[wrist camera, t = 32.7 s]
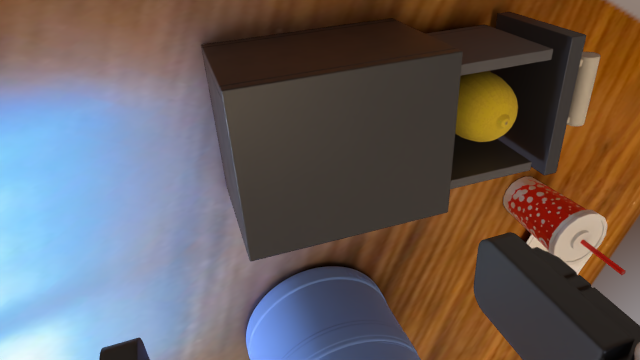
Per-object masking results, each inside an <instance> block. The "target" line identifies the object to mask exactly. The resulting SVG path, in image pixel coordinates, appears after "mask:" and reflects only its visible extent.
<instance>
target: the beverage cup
mask: <svg viewBox="0 0 640 360" xmlns="http://www.w3.org/2000/svg"><path fill="white" fill-rule="evenodd" d="M503 205H504V206H505V208H506V210H507V211H508V212H509V213H510V214H511V215H513V216H514V217H515V218H516V219H517V220H518V221H519V222H520V223H521V224H522V225H523V226H524V227H525V228H526V229H527V230H528V231H529V232H530V233H531V234H532V235H533V236H534V237H535V238H536V239H537V240H538V241H539V242H540V243H541V244H542V245H543V246H544V247H545V248H546V249H547V250H548V251H549V253H551V254H553V255H555V256H557V257H559V258H560V259H562V260H563V261H564V262H565V263H566V264H567V265H574V264H576V263H579V262H581V261H583V260H584V259H586V258H587V257H589V256H590V255H591V254H593V253H594V254H595V255H596V256H598V257H599V258H600V259H602V260H603V261H604V262H605V263H607V264H608V265H609V266H611V267H612V268H613V269H614V270H616V271H617V272H618V273H620V274H621V275H623V274H625V270H623V269H622V268H621V267H619V266H618V265H617V264H615V263H614V262H613V261H611V260H610V259H609V258H608V257H606V256H605V255H604V254H602V253H601V252H600V251H598V250H597V248H598V247H599V246H600V244H601V243H602V241H603V239H604V237H605V235H606V230H607V223H606V220H605V218H604V217H603V216H601V215H600V214H598V213H596V212H595V211H593V210H586V209H585V208H583V207H581V206H580V205H578V204H576V203H575V202H573V201H571V200H570V199H568V198H566V197H565V196H563V195H561V194H560V193H558V192H556V191H555V190H553V189H551V188H550V187H548V186H546V185H545V184H543V183H541V182H539V181H538V180H536V179H534V178H533V177H523V178H520V179H518V180H516V181H515V182H514V183H512V184H511V185H510V187H509V188H508V189H507V190H506V193H505V195H504V198H503Z"/></svg>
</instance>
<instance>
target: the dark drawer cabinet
mask: <svg viewBox="0 0 640 360" xmlns="http://www.w3.org/2000/svg"><path fill="white" fill-rule="evenodd" d="M201 48H202V54H203V59H204V65H205V70H206V76H207V81H208V86H209V92H210V97H211V103H212V108H213V114H214V119H215V125H216V130H217V136H218V141H219V147H220V152H221V157H222V163H223V168H224V174H225V179H226V185H227V189H228V193H229V196H230V199H231V202H232V205H233V208H234V212H235V215H236V218H237V221H238V224H239V228H240V231H241V234H242V237H243V240H244V244H245V247H246V250H247V253H248V256H249V259H250V261H255V260H259V259H263V258H267V257H271V256H275V255H279V254H283V253H287V252H291V251H295V250H299V249H303V248H307V247H311V246H315V245H319V244H323V243H327V242H331V241H335V240H339V239H343V238H347V237H351V236H355V235H359V234H363V233H367V232H371V231H375V230H379V229H383V228H387V227H391V226H395V225H399V224H403V223H407V222H411V221H415V220H419V219H423V218H427V217H431V216H435V215H439V214H443V213H447V212H448V206H449V195H450V184H451V173H452V163H453V152H454V141H455V130H456V120H457V109H458V98H459V87H460V77H461V66H462V55H463V52H462V51H461V50H458V49H456V48H454V47H452V46H450V45H448V44H446V43H444V42H442V41H439V40H437V39H435V38H433V37H431V36H429V35H427V34H424V33H422V32H420V31H418V30H416V29H414V28H412V27H409V26H407V25H405V24H403V23H401V22H399V21H396V20H395V19H392V18H391V19H383V20H376V21H369V22H362V23H355V24H348V25H341V26H333V27H326V28H319V29H312V30H305V31H298V32H290V33H283V34H276V35H269V36H262V37H255V38H247V39H240V40H233V41H226V42H219V43H212V44H205V45H201Z"/></svg>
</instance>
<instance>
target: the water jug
mask: <svg viewBox="0 0 640 360" xmlns="http://www.w3.org/2000/svg"><path fill="white" fill-rule="evenodd" d="M246 344H247V349H248V353H249V357H250V360H421V359H420V358H419V356H418V354H417V351H416V350H415V348H414V346H413V345H412V343H411V342H410V340H409V338H408V337H407V335H406V334H405V333H404V332H403V330H402V328H401V326H400V325H399V323H398V321H397V320H396V318H395V316H394V315H393V313H392V312H391V310H390V308H389V307H388V305H387V302H386V300H385V298H384V296H383V294H382V293H381V291H380V289H379V288H378V286H377V285H376V284H375V283H374V282H373V281H372V280H371V279H370V278H369V277H368V276H366V275H365V274H363V273H361V272H359V271H357V270H354V269H351V268H347V267H340V266H325V267H318V268H313V269H309V270H306V271H303V272H300V273H298V274H296V275H293V276H291V277H289V278H288V279H286V280H284V281H283V282H281V283H280V284H278V285H277V286H275V287H274V288H273V289H272V290H271V291H270V292H268V293H267V294H266V295H265V296H264V298H263V299H262V300H261V301H260V302H259V304H258V305H257V307H256V308H255V310H254V311H253V313H252V315H251V318H250V320H249V323H248V327H247V332H246Z"/></svg>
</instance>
